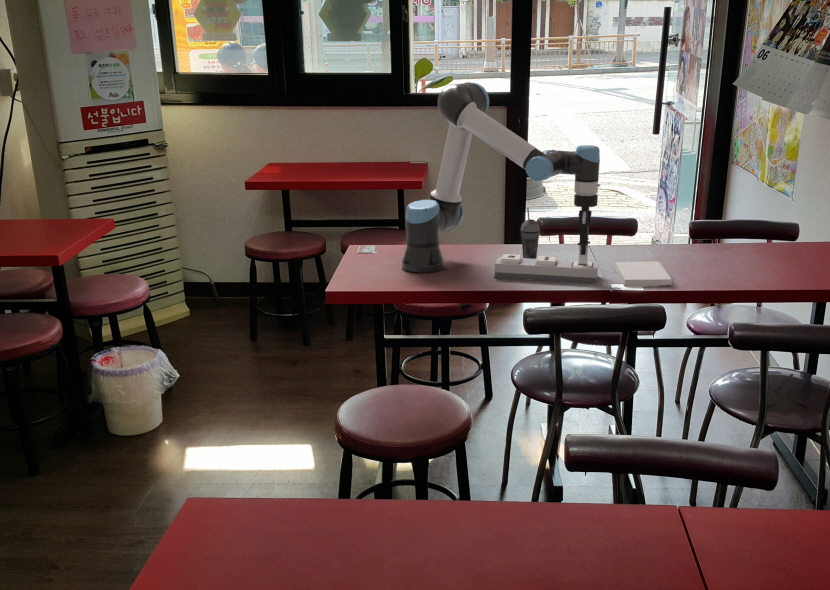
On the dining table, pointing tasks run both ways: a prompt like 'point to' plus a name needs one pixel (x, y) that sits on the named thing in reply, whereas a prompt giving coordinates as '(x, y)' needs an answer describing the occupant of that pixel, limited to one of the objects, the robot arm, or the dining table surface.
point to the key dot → (511, 259)
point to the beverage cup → (530, 237)
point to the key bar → (546, 261)
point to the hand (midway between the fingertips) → (582, 263)
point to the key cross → (583, 265)
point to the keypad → (546, 271)
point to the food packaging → (642, 274)
